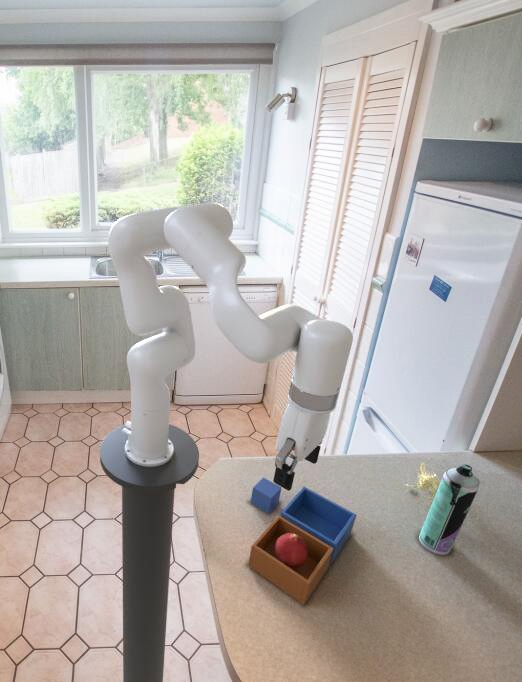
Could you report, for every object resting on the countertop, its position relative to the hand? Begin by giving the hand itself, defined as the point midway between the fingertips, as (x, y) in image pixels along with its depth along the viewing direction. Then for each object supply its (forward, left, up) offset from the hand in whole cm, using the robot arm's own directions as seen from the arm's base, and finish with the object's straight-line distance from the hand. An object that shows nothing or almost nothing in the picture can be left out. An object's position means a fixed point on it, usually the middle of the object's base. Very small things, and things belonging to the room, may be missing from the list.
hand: (295, 472), depth 82 cm
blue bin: (+4, +8, -19) cm, 21 cm away
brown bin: (+4, -3, -19) cm, 20 cm away
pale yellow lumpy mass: (+18, +36, -20) cm, 44 cm away
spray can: (+22, +23, -20) cm, 37 cm away
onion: (+3, -3, -19) cm, 19 cm away
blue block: (-8, +8, -19) cm, 22 cm away
